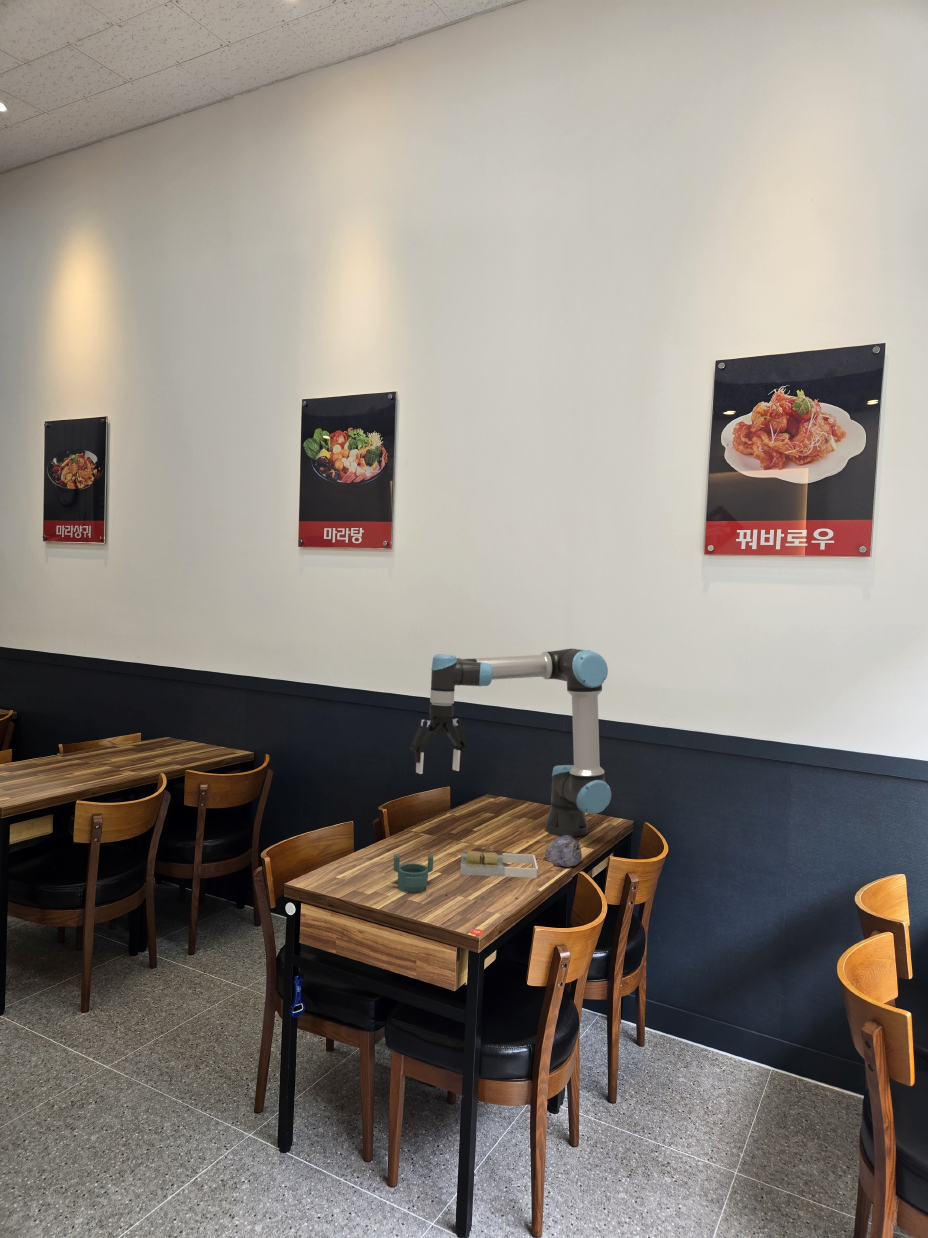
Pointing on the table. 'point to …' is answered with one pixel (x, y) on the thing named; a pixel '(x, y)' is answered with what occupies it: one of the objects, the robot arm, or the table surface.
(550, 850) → the rock
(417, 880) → the teal round pot
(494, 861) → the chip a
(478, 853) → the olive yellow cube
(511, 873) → the tray
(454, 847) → the table surface
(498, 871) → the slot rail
